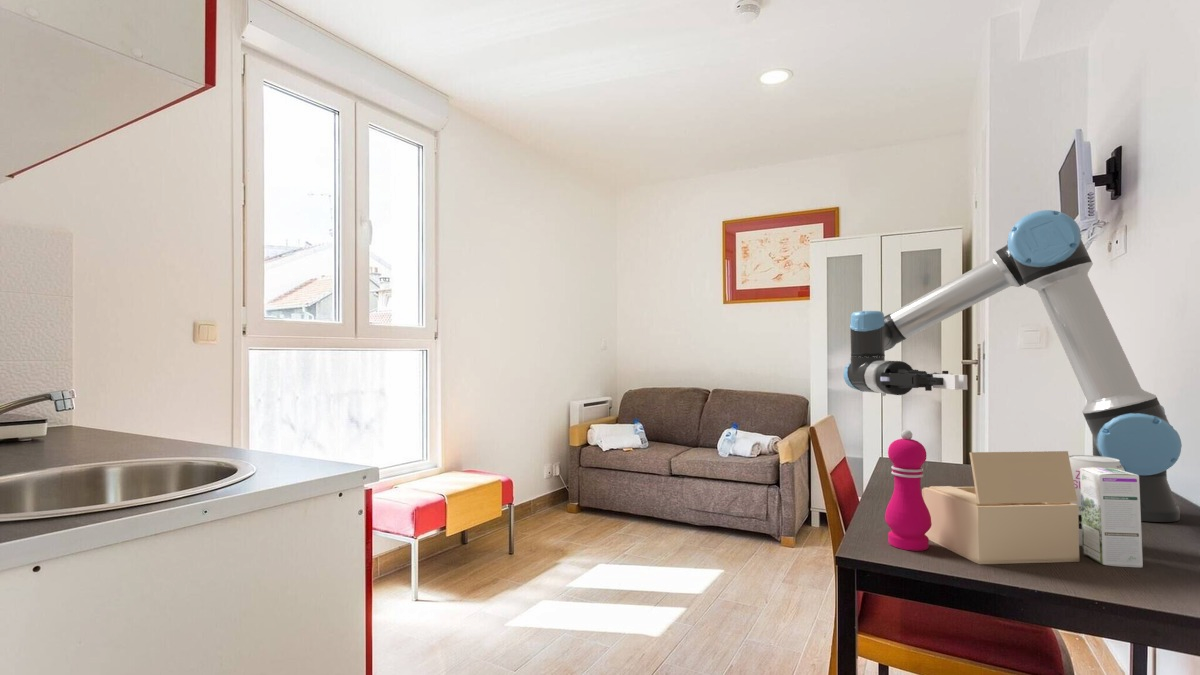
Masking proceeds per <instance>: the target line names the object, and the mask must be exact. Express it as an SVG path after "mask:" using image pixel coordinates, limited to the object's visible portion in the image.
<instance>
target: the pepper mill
mask: <svg viewBox="0 0 1200 675" xmlns="http://www.w3.org/2000/svg"><path fill="white" fill-rule="evenodd" d="M900 436H901V438H899V439H896V440H893V441H892V442H891V443H890V445H889V447H888V448H887V449H888V450H887V455H888V459H889V460H890V461H891V462H892V466H891V474H892V475H893V476H894V477H893V478H894V483H893V485H894V487H893V488H894V489H893V493H892V495H891V497H890V499H889V502H888V504H887V506H886V509H885V514H884V520H885V523H886V525H887V526H888V527H889V529H890V531H889V532H888V536H887V537H888V540H887V541H888V544H889V545H890V546H892V547H894V548H896V549H900V550H906V551H914V552H915V551H916V552H920V551H921V552H922V551H926V550H928V549H929V547H930V544H929V543H930V542H929V541H930V540H929V538H928V537H927V536H926V535H925V533H926V532H927V531H928V530H929V529H930V528H931V525H932V523H931V516H930V513H929V510H928V508H927V506H926V504H925V502H924V499H923V497H922V488H921V481H922V478H923V477H924V473H923V472H924V468H923V467H922V466H923V464H924V463H925V462H926V461H927V451H926V448H925V446H924V445H923V444H922V443H921V442H919V441H918V440H915V439H912V438H913V433H912V431H911V430H908V429H904V430H902V431H901V434H900Z"/></svg>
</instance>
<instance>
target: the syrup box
mask: <svg viewBox="0 0 1200 675" xmlns="http://www.w3.org/2000/svg"><path fill="white" fill-rule="evenodd" d="M1080 487H1081V517H1082V543H1083V547H1082V554H1083V555H1085V556H1087V557H1089V558H1090V559H1092V560H1094V561H1095V562H1097V563H1099V564H1101V565H1104V566H1111V567H1122V568H1124V567H1125V568H1140V569H1141V568H1143V565H1144V564H1143V562H1144V561H1143V560H1144V559H1143V542H1142V541H1143V536H1142V535H1143V534H1142V533H1143V532H1142V521H1141V510H1140V485H1139V475H1136V474H1132V473H1129V472H1125V471H1122V470H1118V469H1114V468H1102V467H1091V468H1080Z"/></svg>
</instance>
